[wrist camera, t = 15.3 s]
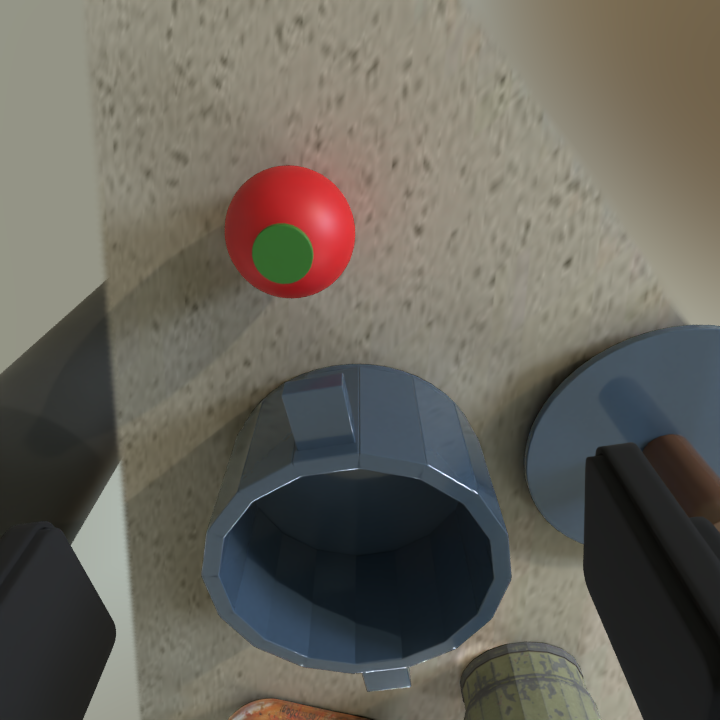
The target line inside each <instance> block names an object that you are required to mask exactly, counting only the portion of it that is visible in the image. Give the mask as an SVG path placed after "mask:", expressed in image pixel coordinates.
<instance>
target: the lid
mask: <svg viewBox="0 0 720 720" xmlns="http://www.w3.org/2000/svg"><path fill="white" fill-rule="evenodd" d="M630 442H633V443H635V444H636V445H637V446H638V447H639V448H640V450H641V451H642V452H643V454H644V455H645V457H646V458H647V460H648V461H649V462H650V464H651V465H652V467H653V468H654V469H655V471H656V472H657V474H658V475H659V476H660V478H661V479H662V481H663V482H664V483H665V485H666V486H667V488H668V489H669V490H670V492H671V493H672V495H673V496H674V498H675V499H676V500H677V502H678V503H679V505H680V506H681V507H682V509H683V510H684V512H685V513H686V514H687V516H688V517H689V518H691V517H704V518H706V519H707V520H709V521H710V522H711V523H712V524H713V525H714V526H715V527H716V528H717V530H718V531H719V532H720V326H715V325H685V326H675V327H669V328H664V329H659V330H655V331H650V332H647V333H644V334H641V335H638V336H635V337H632V338H629V339H627V340H625V341H623V342H620V343H618V344H616V345H614V346H611V347H610V348H608V349H606V350H604V351H603V352H601V353H599V354H597V355H596V356H594V357H592V358H591V359H590V360H588V361H587V362H586V363H584V364H583V365H581V366H580V367H579V368H577V369H576V370H575V371H574V372H573V373H572V374H571V375H569V376H568V377H567V378H566V379H565V380H564V381H563V382H562V383H561V384H560V385H559V386H558V387H557V388H556V390H555V391H554V392H553V393H552V394H551V395H550V397H549V398H548V399H547V401H546V402H545V404H544V405H543V407H542V408H541V410H540V411H539V413H538V415H537V417H536V419H535V421H534V423H533V425H532V428H531V431H530V433H529V436H528V439H527V444H526V449H525V456H524V471H525V478H526V483H527V486H528V489H529V492H530V495H531V497H532V499H533V501H534V503H535V505H536V507H537V509H538V510H539V512H540V513H541V514H542V515H543V517H544V518H545V519H546V520H547V521H548V522H549V523H550V524H551V525H552V526H553V527H554V528H555V529H557V530H558V531H560V532H561V533H562V534H564V535H565V536H567V537H569V538H571V539H573V540H575V541H577V542H579V543H581V544H584V507H585V463H586V458H587V457H592V456H595V454H596V450H597V448H598V447H600V446H608V445H615V444H622V443H630Z"/></svg>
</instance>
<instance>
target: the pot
mask: <svg viewBox="0 0 720 720" xmlns="http://www.w3.org/2000/svg"><path fill="white" fill-rule="evenodd" d="M201 575H202V579H203V581H204V583H205V585H206V588H207V590H208V592H209V594H210V597H211V599H212V601H213V603H214V606H215V608H216V610H217V612H218V615H219V616H220V617H221V618H222V619H223V620H224V621H225V622H227V623H228V624H229V625H230V626H231V627H232V628H233V629H234V630H236V631H237V632H238V633H239V634H240V635H241V636H242V637H244V638H245V639H246V640H247V641H248V642H249V643H250V644H252V645H253V646H254V647H256V648H258V649H261V650H263V651H265V652H268V653H270V654H273V655H275V656H277V657H280V658H282V659H285V660H287V661H289V662H292V663H294V664H296V665H299V666H302V667H306V668H313V669H321V670H328V671H336V672H343V673H351V674H355V673H362V676H363V679H364V683H365V686H366V690H367V692H370V691H379V690H388V689H397V688H406V687H411V679H410V669H409V667H411V666H414V665H417V664H419V663H422V662H424V661H427V660H429V659H432V658H434V657H437V656H439V655H442V654H444V653H447V652H449V651H452V650H455V648H458V647H459V646H460V645H461V644H462V643H464V642H465V641H466V640H467V639H468V638H470V637H471V636H472V635H473V634H474V633H476V632H477V631H478V630H479V629H480V628H482V627H483V626H484V625H485V624H486V623H488V622H489V621H490V620H491V619H492V618H493V616H494V614H495V612H496V610H497V608H498V606H499V604H500V602H501V600H502V598H503V596H504V594H505V591H506V589H507V587H508V585H509V583H510V581H511V578H512V575H511V562H510V549H509V537H508V533H507V530H506V526H505V523H504V520H503V517H502V513H501V510H500V507H499V504H498V501H497V497H496V494H495V491H494V488H493V485H492V481H491V478H490V475H489V472H488V469H487V465H486V462H485V459H484V456H483V452H482V449H481V446H480V443H479V440H478V437H477V436H476V434H475V433H474V431H473V430H472V427H471V425H470V424H469V422H468V420H467V418H466V416H465V415H464V414H463V412H462V411H461V410H460V409H459V407H458V406H457V405H456V404H455V403H454V402H453V401H452V400H451V399H450V398H449V397H448V396H447V395H446V394H445V393H443V392H442V391H441V390H439V389H438V388H436V387H435V386H434V385H432V384H430V383H428V382H427V381H425V380H423V379H421V378H419V377H417V376H415V375H412V374H409V373H407V372H404V371H401V370H397V369H393V368H389V367H385V366H378V365H370V364H346V365H336V366H330V367H325V368H321V369H316V370H313V371H310V372H308V373H305V374H302V375H299V376H297V377H295V378H293V379H291V380H289V381H287V382H285V383H284V384H282V385H281V386H279V387H278V388H276V389H275V390H273V391H272V392H271V393H270V394H269V395H267V396H266V397H265V398H264V399H263V400H262V401H261V402H260V403H259V404H258V405H257V407H256V408H255V409H254V410H253V411H252V412H251V414H250V416H249V417H248V419H247V421H246V422H245V424H244V426H243V428H242V429H241V431H240V432H239V434H238V435H237V438H236V441H235V444H234V447H233V450H232V454H231V457H230V460H229V463H228V466H227V469H226V472H225V475H224V479H223V482H222V485H221V488H220V491H219V494H218V497H217V501H216V504H215V507H214V510H213V513H212V516H211V519H210V522H209V526H208V529H207V532H206V539H205V547H204V556H203V564H202V572H201Z"/></svg>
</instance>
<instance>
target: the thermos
mask: <svg viewBox="0 0 720 720" xmlns="http://www.w3.org/2000/svg"><path fill="white" fill-rule="evenodd" d="M460 686H461V692H462V697H463V702H464V703H465V709H466V712H465V717H464V720H601V717H600V715H599V712H598V709H597V706H596V704H595V702H594V701H593V699H592V697H591V696H590V694H589V693H588V692H587V689H586V686H585V684H584V681H583V675H582V672H581V669H580V667H579V665H578V664H577V662H576V660H575V659H574V657H573V656H571V655H570V654H568V653H567V652H566V651H564V650H563V649H561V648H558V647H555V646H552V645H548V644H545V643H533V642H522V643H514V644H506V645H503V646H500V647H497V648H494V649H491V650H488V651H487V652H485V653H484V654H482V655H480V656H479V657H477V658H475V659H474V660H473V661H472V662H471V663H470V664H469V665H468V666H467V668H466V669H465V670H464V672H463V675H462V677H461V680H460Z"/></svg>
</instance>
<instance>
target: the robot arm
mask: <svg viewBox="0 0 720 720" xmlns="http://www.w3.org/2000/svg"><path fill="white" fill-rule="evenodd" d="M583 570H584V577H585V581H586V585H587V588H588V590H589V593H590V595H591V597H592V600H593V602H594V605H595V607H596V609H597V612H598V614H599V616H600V619H601V621H602V623H603V626H604V628H605V630H606V633H607V635H608V637H609V640H610V642H611V644H612V647H613V649H614V651H615V654H616V656H617V658H618V661H619V663H620V665H621V668H622V670H623V672H624V675H625V677H626V680H627V682H628V684H629V687H630V689H631V691H632V694H633V696H634V698H635V701H636V703H637V705H638V708H639V710H640V712H641V715H642V717H643V719H644V720H720V532H719V531H718V530H717V528H716V527H715V526H714V525H713V524H712V523H711V522H710V521H709V520H707V519H706V518H704V517H691V518H689V517H688V516H687V514H686V513H685V512H684V510H683V509H682V507H681V506H680V505H679V503H678V502H677V500H676V499H675V498H674V496H673V495H672V493H671V492H670V490H669V489H668V488H667V486H666V485H665V483H664V482H663V481H662V479H661V478H660V476H659V475H658V474H657V472H656V471H655V469H654V468H653V467H652V465H651V464H650V462H649V461H648V460H647V458H646V457H645V455H644V454H643V452H642V451H641V450H640V448H639V447H638V446H637V445H636V444H635V443H633V442H630V443H622V444H615V445H608V446H600V447H598V448H597V450H596V454H595V456H592V457H587V458H586V463H585V507H584V556H583ZM115 638H116V629H115V624H114V621H113V620H112V618H111V616H110V615H109V613H108V611H107V609H106V607H105V605H104V604H103V602H102V600H101V598H100V597H99V595H98V593H97V591H96V590H95V588H94V586H93V585H92V583H91V581H90V579H89V577H88V576H87V574H86V572H85V570H84V569H83V567H82V565H81V564H80V561H79V560H78V558H77V556H76V554H75V553H74V551H73V549H72V547H71V546H70V544H69V542H68V540H67V538H66V537H65V535H64V533H63V532H62V531H61V530H60V529H59V528H55V527H54V526H53V525H52V524H51V523H50V522H48V521H41V522H34V523H26V524H19V525H14V526H12V527H10V528H9V529H8V530H7V531H6V532H5V533H4V535H3V536H2V537H1V539H0V720H83V718H84V715H85V713H86V711H87V708H88V706H89V703H90V701H91V698H92V696H93V694H94V691H95V689H96V687H97V684H98V682H99V679H100V677H101V674H102V672H103V670H104V667H105V665H106V662H107V660H108V658H109V655H110V653H111V651H112V648H113V645H114V643H115Z"/></svg>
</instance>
